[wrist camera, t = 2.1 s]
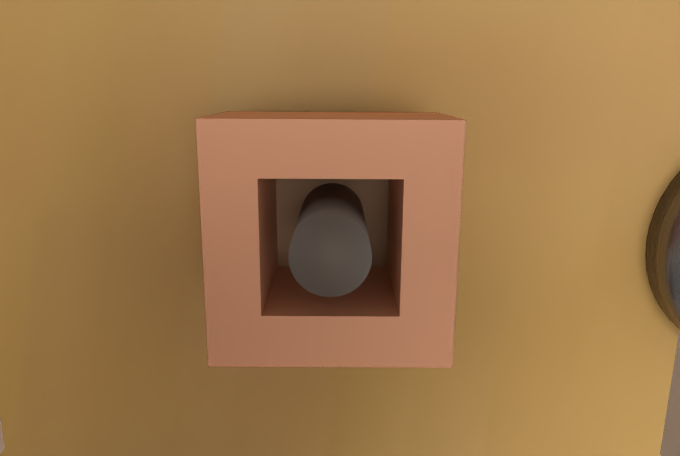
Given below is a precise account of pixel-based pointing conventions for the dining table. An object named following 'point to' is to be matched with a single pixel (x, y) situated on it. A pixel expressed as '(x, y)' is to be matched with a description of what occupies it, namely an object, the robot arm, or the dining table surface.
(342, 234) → the stand
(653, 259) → the hub
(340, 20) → the dining table surface
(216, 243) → the pink square tube frame
